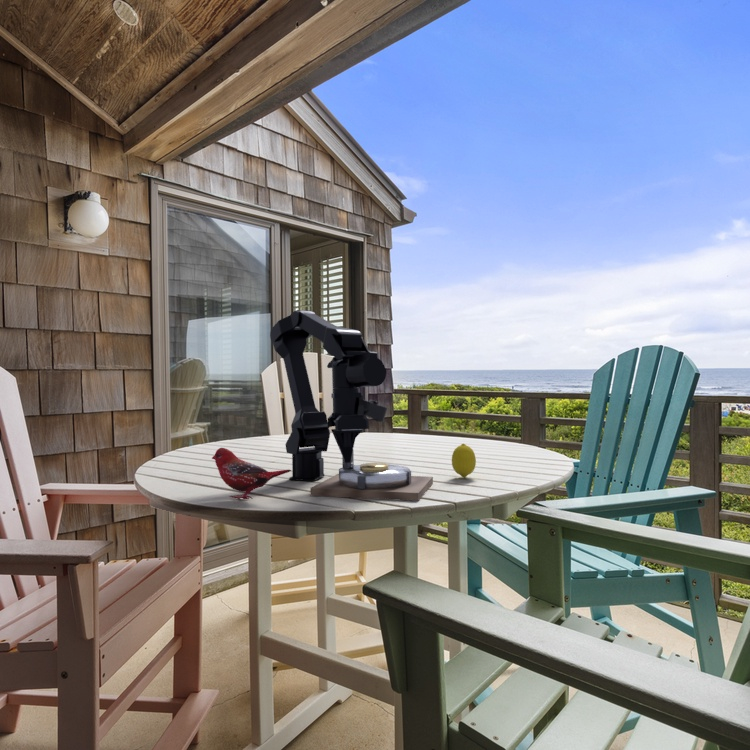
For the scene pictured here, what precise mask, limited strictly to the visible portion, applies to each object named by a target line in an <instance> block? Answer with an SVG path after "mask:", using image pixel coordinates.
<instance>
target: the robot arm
mask: <svg viewBox="0 0 750 750" xmlns="http://www.w3.org/2000/svg"><path fill="white" fill-rule="evenodd" d="M311 336H312V337H315V338H316V339H317V340H319V341H321V344H322V348H323V349H324V350H325V352H327V353H328V354H329V356H332V359H331V360H330V361H329V362H328V363H327V366H326V367H327V368H328V369H331V372H332V374H331V376H332V377H331V380H332V385H331V386H332V393H331V399H332V412H331V414H330V416H328V415H327V413H326V412H325V411H319V409H317V407H316V404H315V400H314V396H313V395H314V394H313V390H312V387H311V381H310V378H309V374H308V370H307V366H306V362H305V361H306V360H305V357H304V353H305V350H306V347H307V345H308V339H309V338H310V337H311ZM269 337H270V340H271V342H272V346H273V348H274V351H275V352H276V353H277V354H278V355H279V356H280V357H281V358H282V359H283V361H284V362H283V363H284V369H285V372H286V376H287V381H288V384H289V385H288V386H289V389H290V393H291V400H292V404H293V408H294V409H293V410H294V413H295V414H294V416H293V420H292V422H291V423H290V424H291V426H290V427H291V432H290V435H289V436H288V439H287V440H286V442H285V445H284V446H285V450H286V453H287V454H291V456H292V457H291V458H292V459H291V461H292V463H291V465H292V469H291V473H292V474H291V475H292V476H290V477H288V479H289V480H291V481H311V482H312V481H317V480H319V479H321V478H323V477H325V473H324V471H325V469H324V461H325V460H324V458H323V455H322V454H323V453H322V452H324V453H325V452H327V451H328V447H329V444H330V443H329V442H330V437H331V433H332V436H333V437H334V440H335V442H336V443H337V447H338V450H339V451H340V454H341V457H342V456H343V459H344V461H345V463H350V461H351V457H352V452H353V451H354V447H355V442H356V438H357V437H358V436H359V435H360V434H361V433H362V432H363V431H364V430H368V429H370V419H372V420H373V421H376V422H379V423H384V421H385V420H384V419H385V418H386V417H385V416H386V414H387V410H388V407H386V406H382V405H380V404H378V403H379V402H378V401H375V400H373V399H369V400H365V399H364V395H363V393H362V392H361V391H360V390H361V389H360V388H367V387H370V388H371V387H378V386H380V385H381V384H383V383H384V382H385V379H386V377H387V368H386V366H385V364H384V363H383V360H381V359H380V358H379V357H378V352H376V351H370V349H369V347H368V346H367V344H366V341H365V340H364V339H363V338H364V337H363V335H362V333H361V331H359V330H357V329H352V328H348V327H347V328H346V327H341V326H337V325H335V324H334V323H331V322H330V321H328V320H326V319H325V318H322V317H320V316H319V315H317V314H316V313H315V312H314V311H312V310H303V309H297V310H294V311H293V312H291V314H290V315H287V316H286V317H284V318H280V319H279V320H278V321H277V322H276V323H275V324H274V325H273V326H272V328H271V329H270V333H269ZM327 416H328V417H327ZM332 427H334V428H332ZM330 428H332V429H331V431H330Z"/></svg>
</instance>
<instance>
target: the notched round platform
mask: <svg viewBox="0 0 750 750" xmlns="http://www.w3.org/2000/svg"><path fill="white" fill-rule="evenodd" d="M341 458H342V459H341V461H342V462H341V463H342V467H340V468H338V474H339V484H340V485H342V486H345V487H350V488H358V489H386V488H395V487H401V486H404V485H407V484H410V483H411V476H412V470H411V469H410V468H409V467H407V466H405V465H400V464H399V465H398V464H390V463H385V462H366V463H361V464H355V465H354V462H355V460H354V459H355V458H354V450H353V452H352V457H351V461H350V463H345V461H344V459H343V456H342V455H341Z"/></svg>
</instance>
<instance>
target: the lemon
mask: <svg viewBox="0 0 750 750" xmlns="http://www.w3.org/2000/svg"><path fill="white" fill-rule="evenodd" d="M476 458H477V457H476V455H475V451H474V450H473V449H472V448H471V447H470V446H469V445H467V444H465V443H461V445H458V446H457V447H455V448H454V450H453V452H452V455H451V466H452V469H453V471H454V472H455V473H456V474H458V475H460V476H461V477H462V478H463V479H466V477H468V475H471V474H472V473H473V472H474V471H475V469H476V466H477V464H476V463H477V461H476V460H477V459H476Z"/></svg>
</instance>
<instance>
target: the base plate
mask: <svg viewBox="0 0 750 750" xmlns="http://www.w3.org/2000/svg"><path fill="white" fill-rule="evenodd" d="M433 484H434V477H433V476H427V475H426V476H424V475H422V476H421V475H411V483H410V484H407V485H404V486H401V487H395V488H386V489H358V488H350V487H345V486H342V485H340V484H339V473H337V474H335V475H333V476H331V477H329V478H327V479H325V480H323V481H320V482H319V483H317V484H316V485H314V486H312V487H310V488H309V489H310V492H309V493H310V496H311V495H313V496H314V497H332V498H333V497H335V498H349V497H351V498H352V499H369V498H379V499H378V500H389V499H400V500H399V501H409V500H412V502H419V501H420V500H421V499H422V498H423V497H424V495H425V494H426V493H427V491H429V489H430V488H431V487H432V485H433ZM429 487H430V488H429ZM425 492H426V493H425ZM424 493H425V494H424ZM313 496H312V497H313ZM420 498H421V499H420Z"/></svg>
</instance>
